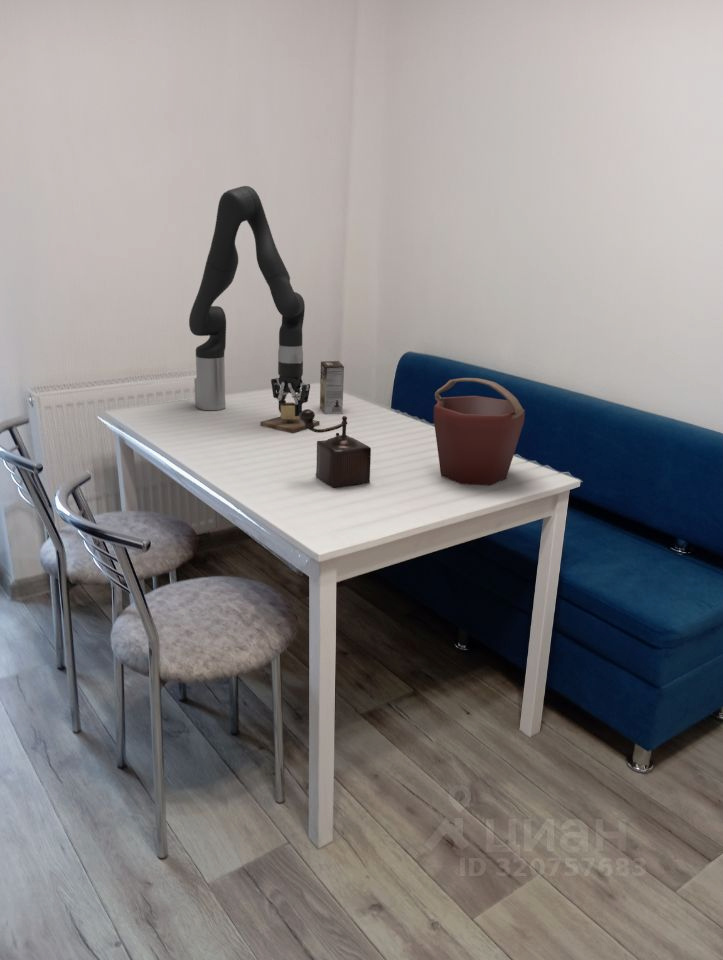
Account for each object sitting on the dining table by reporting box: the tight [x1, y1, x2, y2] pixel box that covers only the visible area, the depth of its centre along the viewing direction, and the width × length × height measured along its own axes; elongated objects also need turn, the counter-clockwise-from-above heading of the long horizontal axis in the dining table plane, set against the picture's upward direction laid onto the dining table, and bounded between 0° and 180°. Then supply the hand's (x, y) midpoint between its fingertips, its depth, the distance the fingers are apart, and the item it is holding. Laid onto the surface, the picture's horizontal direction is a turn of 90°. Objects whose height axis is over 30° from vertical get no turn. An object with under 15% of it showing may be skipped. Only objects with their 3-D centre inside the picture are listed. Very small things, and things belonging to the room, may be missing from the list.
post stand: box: [260, 405, 320, 434], centre depth 249 cm, size 13×13×6 cm
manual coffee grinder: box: [299, 408, 372, 489], centre depth 198 cm, size 16×11×18 cm
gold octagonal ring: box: [280, 401, 300, 419], centre depth 248 cm, size 6×6×4 cm
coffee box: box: [319, 360, 345, 415], centre depth 267 cm, size 9×6×16 cm
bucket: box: [433, 377, 526, 486], centre depth 205 cm, size 24×22×25 cm
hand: (290, 413), depth 248 cm, fingers closed on gold octagonal ring, 5 cm apart
